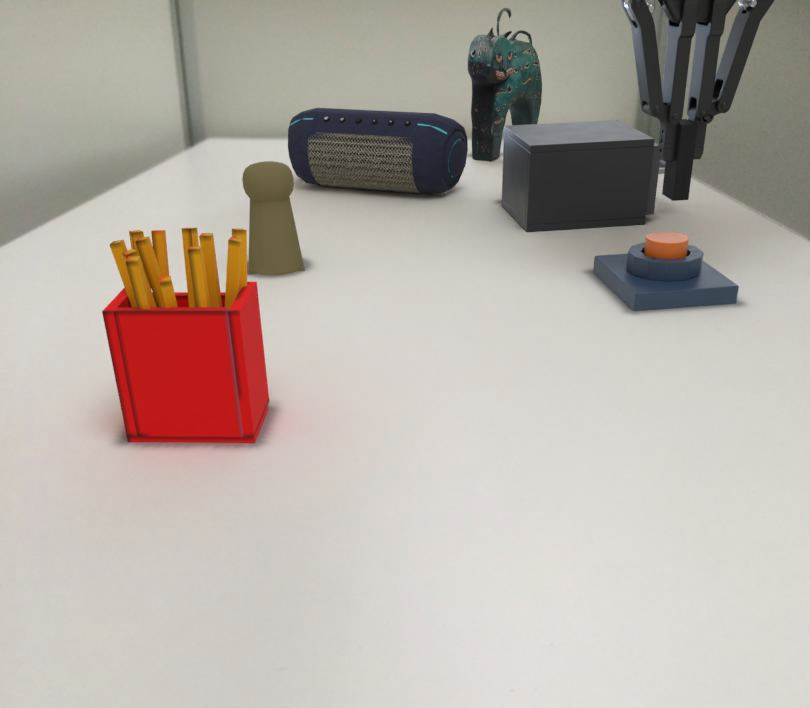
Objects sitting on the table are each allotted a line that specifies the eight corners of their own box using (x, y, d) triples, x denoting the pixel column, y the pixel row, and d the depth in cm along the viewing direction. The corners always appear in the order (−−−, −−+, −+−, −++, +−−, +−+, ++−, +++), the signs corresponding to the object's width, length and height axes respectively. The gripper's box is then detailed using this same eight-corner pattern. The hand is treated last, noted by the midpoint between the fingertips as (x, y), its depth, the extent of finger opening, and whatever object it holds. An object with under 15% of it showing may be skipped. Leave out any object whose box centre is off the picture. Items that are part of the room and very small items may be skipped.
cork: (274, 259, 107) (264, 154, 101) (316, 268, 104) (308, 160, 98) (236, 274, 103) (223, 165, 97) (278, 283, 100) (268, 172, 94)
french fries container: (154, 408, 75) (122, 224, 67) (271, 409, 74) (252, 223, 67) (127, 450, 69) (88, 254, 61) (254, 451, 68) (231, 253, 61)
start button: (677, 248, 95) (679, 230, 94) (693, 260, 92) (695, 241, 91) (637, 250, 94) (639, 232, 94) (652, 263, 91) (655, 244, 90)
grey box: (610, 198, 126) (618, 119, 121) (645, 224, 116) (654, 138, 110) (501, 205, 124) (504, 125, 119) (526, 232, 114) (530, 145, 109)
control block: (685, 270, 101) (690, 231, 98) (735, 308, 91) (742, 266, 88) (592, 276, 99) (595, 237, 97) (633, 316, 89) (637, 274, 87)
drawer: (653, 190, 126) (661, 126, 121) (688, 212, 116) (697, 143, 112) (520, 198, 124) (523, 133, 119) (544, 221, 114) (548, 151, 110)
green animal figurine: (493, 164, 145) (497, 12, 134) (455, 160, 148) (456, 11, 137) (546, 140, 159) (554, 1, 148) (511, 137, 162) (516, 1, 151)
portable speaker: (278, 191, 134) (271, 112, 128) (311, 175, 141) (306, 101, 136) (448, 204, 125) (448, 121, 120) (473, 187, 133) (475, 108, 127)
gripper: (765, -110, 81) (724, 183, 94) (616, -104, 80) (594, 192, 92) (810, -112, 75) (759, 201, 88) (649, -107, 73) (621, 211, 86)
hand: (675, 196), depth 90 cm, fingers closed
